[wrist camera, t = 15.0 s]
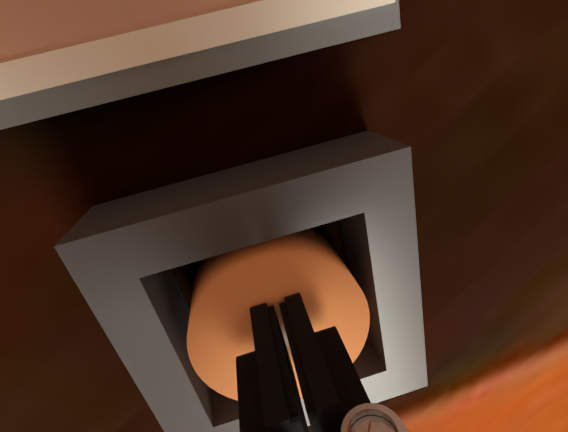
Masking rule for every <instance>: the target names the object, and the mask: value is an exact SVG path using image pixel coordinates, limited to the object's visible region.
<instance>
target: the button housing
mask: <svg viewBox="0 0 568 432" xmlns="http://www.w3.org/2000/svg"><path fill="white" fill-rule="evenodd" d="M337 220H340V223H341V229H342V234H343V240H344V246H345V251H346V257H347V263H348V268H349V271H350V273H351V274H352V276H353V277H354V279H355V280H356V282H357V283H358V285H359V287H360V288H361V290H362V291H363V293H364V295H365V297H366V300H367V303H368V307H369V313H370V325H369V332H368V336H367V339H366V342H365V344H364V347H363V349H362V350H361V352H360V354H359V356H358V357H357V359H356V360H355V361H354V363H353V365H354V367H355V369H356V371H357V374H358V376H359V378H360V380H361V382H362V385H363V387H364V389H365V391H366V393H367V396H368V398H369V400H370V402H371V403H378V402H381V401H384V400H387V399H390V398H393V397H396V396H399V395H402V394H405V393H408V392H411V391H414V390H417V389H420V388H423V387H426V386H428V383H427V369H426V355H425V341H424V327H423V313H422V299H421V284H420V270H419V256H418V242H417V228H416V214H415V200H414V186H413V172H412V158H411V146H408V145H405V144H403V143H400V142H398V141H395V140H392V139H390V138H387V137H384V136H382V135H379V134H377V133H374V132H371V131H369V130H367V131H364V132H360V133H356V134H353V135H349V136H345V137H342V138H338V139H334V140H331V141H327V142H323V143H320V144H316V145H313V146H309V147H305V148H302V149H298V150H294V151H291V152H287V153H283V154H280V155H276V156H272V157H269V158H265V159H261V160H258V161H254V162H250V163H247V164H243V165H240V166H236V167H232V168H229V169H225V170H221V171H218V172H214V173H210V174H207V175H203V176H199V177H196V178H192V179H188V180H185V181H181V182H178V183H174V184H170V185H167V186H163V187H159V188H156V189H152V190H148V191H145V192H141V193H137V194H134V195H130V196H126V197H123V198H119V199H115V200H112V201H108V202H105V203H101V204H97V205H94V206H92V207H91V208H90V209H89V210H88V211H87V212H86V213H85V214H84V215H83V216H82V217H81V218H80V219H79V221H78V222H77V223H76V224H75V225H74V226H73V227H72V228H71V229H70V230H69V231H68V232H67V233H66V234H65V235H64V236H63V237H62V238H61V239H60V241H59V242H58V243H57V244H56V245H55V246H54V248H55V249H56V251H57V253H58V254H59V256H60V258H61V259H62V261H63V263H64V264H65V266H66V268H67V269H68V271H69V273H70V274H71V276H72V278H73V279H74V281H75V283H76V284H77V286H78V288H79V289H80V291H81V293H82V295H83V296H84V298H85V300H86V301H87V303H88V305H89V306H90V308H91V310H92V311H93V313H94V315H95V316H96V318H97V320H98V321H99V323H100V325H101V326H102V328H103V330H104V331H105V333H106V335H107V336H108V338H109V340H110V341H111V343H112V345H113V346H114V348H115V350H116V351H117V353H118V355H119V356H120V358H121V360H122V361H123V363H124V365H125V366H126V368H127V370H128V371H129V373H130V375H131V376H132V378H133V380H134V382H135V383H136V385H137V387H138V388H139V390H140V392H141V393H142V395H143V397H144V398H145V400H146V402H147V403H148V405H149V407H150V408H151V410H152V412H153V413H154V415H155V417H156V418H157V420H158V422H159V423H160V425H161V427H162V428H163V430H164V432H240V428H239V411H238V401H237V400H234V399H231V398H228V397H226V396H224V395H222V394H219V393H218V392H216V391H215V390H213V389H212V388H210V387H209V386H208V385H207V384H206V383H204V382H203V381H202V379H201V378H200V377H199V376H198V375H197V373H196V372H195V370H194V368H193V366H192V364H191V362H190V359H189V356H188V350H187V331H188V322H189V314H190V308H189V306H188V304H187V301H186V299H185V297H184V295H183V292H182V290H181V288H180V286H179V283H178V281H177V279H176V276H175V274H174V272H173V270H172V268H176V267H179V266H182V265H186V264H189V263H193V262H196V261H200V260H203V259H206V258H210V257H213V256H217V255H220V254H224V253H227V252H230V251H234V250H237V249H241V248H244V247H248V246H251V245H254V244H258V243H261V242H265V241H268V240H272V239H275V238H278V237H282V236H285V235H289V234H292V233H296V232H299V231H302V230H306V229H309V228H313V227H316V226H320V225H323V224H326V223H330V222H333V221H337ZM300 399H301V403H302V407H303V411H304V415H305V419H306V423H307V426H309V425H310V422H309V419H308V415H307V412H306V408H305V405H304V401H303V398H300Z"/></svg>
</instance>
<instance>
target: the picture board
mask: <svg viewBox="0 0 568 432" xmlns="http://www.w3.org/2000/svg"><path fill="white" fill-rule="evenodd" d="M400 28H401V26H400V12H399V0H0V130H2V129H6V128H10V127H14V126H18V125H22V124H25V123H29V122H33V121H37V120H41V119H45V118H49V117H53V116H57V115H61V114H65V113H69V112H73V111H77V110H81V109H85V108H89V107H92V106H96V105H100V104H104V103H108V102H112V101H116V100H120V99H124V98H128V97H132V96H136V95H140V94H144V93H148V92H152V91H156V90H160V89H163V88H167V87H171V86H175V85H179V84H183V83H187V82H191V81H195V80H199V79H203V78H207V77H211V76H215V75H219V74H223V73H227V72H230V71H234V70H238V69H242V68H246V67H250V66H254V65H258V64H262V63H266V62H270V61H274V60H278V59H282V58H286V57H290V56H294V55H297V54H301V53H305V52H309V51H313V50H317V49H321V48H325V47H329V46H333V45H337V44H341V43H345V42H349V41H353V40H357V39H361V38H364V37H368V36H372V35H376V34H380V33H384V32H388V31H392V30H396V29H400Z"/></svg>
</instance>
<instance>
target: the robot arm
mask: <svg viewBox="0 0 568 432" xmlns="http://www.w3.org/2000/svg"><path fill="white" fill-rule="evenodd" d="M284 300H285V302H282V303H279V307H280V311H281V315H282V319H283V323H284V327H285V330H286V334H287V338H288V342H289V346H290V350H291V354H292V358H293V362H294V366H295V370H296V373H297V377H298V381H299V385H300V389H301V393H302V397H303V401H304V405H305V408H306V412H307V415H308V419H309V422H310V425H311V429H312V432H409V431H408V429H407V428H406V426H405V425H404V424H403V422H402V421H401V419H400V418H399V417H398V416H397V415H396V414H395V413H394V412H393V411H392V410H391V409H389V408H387V407H386V406H384V405H380V404H376V403H371V402H370V400H369V398H368V396H367V393H366V391H365V389H364V387H363V385H362V382H361V380H360V378H359V376H358V374H357V371H356V369H355V367H354V365H353V363H352V361H351V358H350V356H349V354H348V352H347V350H346V347H345V345H344V343H343V341H342V339H341V337H340V334H339V332H338V330H337V328H336V327H335V326H333V327H330V328H327V329H323V330H320V331H317V332H314V330H313V327H312V324H311V322H310V319H309V316H308V314H307V311H306V308H305V305H304V303H303V300H302V297H301V294H300V292H299V293H296V294H293V295H289V296H286V297H284ZM250 316H251V324H252V332H253V340H254V348H255V351H253V352H250V353H246V354H243V355H240V356H237V357H236V375H237V393H238V411H239V428H240V432H309V431H308V427H307V423H306V419H305V415H304V411H303V407H302V403H301V399H300V395H299V391H298V387H297V383H296V379H295V375H294V371H293V367H292V364H291V360H290V357H289V354H288V351H287V347H286V344H285V341H284V337H283V334H282V331H281V328H280V324H279V321H278V318H277V315H276V311H275V308H274V305H272V306H269V307H267V304H266V303H263V304H260V305H256V306H253V307H250Z"/></svg>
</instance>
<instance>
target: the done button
mask: <svg viewBox="0 0 568 432" xmlns="http://www.w3.org/2000/svg"><path fill="white" fill-rule="evenodd" d="M299 292H300V294H301V297H302V300H303V303H304V305H305V308H306V311H307V314H308V316H309V319H310V322H311V324H312V327H313V330H314V332H317V331H320V330H323V329H327V328H330V327H333V326H335V327H336V328H337V330H338V332H339V334H340V337H341V339H342V341H343V343H344V345H345V347H346V350H347V352H348V354H349V356H350V358H351V361H352V363H354V361H355V360H356V359H357V357H358V356H359V354H360V352H361V350H362V349H363V347H364V344H365V342H366V339H367V336H368V332H369V325H370V313H369V307H368V303H367V300H366V297H365V295H364V293H363V291H362V290H361V288H360V287H359V285H358V283H357V282H356V280H355V279H354V277H353V276H352V274H351V273H350V271H349V270H348V268H347V267H346V265H345V264H344V262H343V261H342V259H341V258H340V256H339V255H338V253H337V252H336V250H335V249H334V247H333V246H332V245H331V244H330V243H329V242H328V241H327V240H326V239H325V238H324V237H322V236H321V235H320V234H318V233H316V232H315V231H313V230H311V229H306V230H302V231H299V232H296V233H292V234H289V235H285V236H282V237H278V238H275V239H272V240H268V241H265V242H261V243H258V244H254V245H251V246H248V247H244V248H241V249H237V250H234V251H230V252H227V253H224V254H220V255H217V256H213V257H210V258H206V259H203V261H202V262H201V264H200V266H199V268H198V270H197V272H196V276H195V279H194V283H193V289H192V297H191V306H190V314H189V322H188V331H187V350H188V356H189V359H190V362H191V364H192V366H193V368H194V370H195V372H196V373H197V375H198V376H199V377H200V378H201V379H202V381H203V382H204V383H206V384H207V385H208V386H209V387H210V388H212V389H213V390H215V391H216V392H218V393H219V394H222V395H224V396H226V397H228V398H231V399H234V400H237V401H238V393H237V375H236V357H237V356H240V355H243V354H246V353H250V352H253V351H255V348H254V340H253V332H252V324H251V316H250V307H253V306H256V305H260V304H263V303H266V304H267V307H269V306H272V305H274V308H275V311H276V315H277V318H278V321H279V324H280V328H281V331H282V334H283V337H284V341H285V344H286V347H287V351H288V354H289V357H290V360H291V364H292V367H293V371H294V375H295V379H296V383H297V387H298V391H299V395H300V398H303V397H302V393H301V389H300V385H299V381H298V377H297V373H296V370H295V366H294V362H293V358H292V354H291V350H290V346H289V342H288V338H287V334H286V330H285V327H284V323H283V319H282V315H281V311H280V307H279V303H282V302H285V300H284V297H286V296H289V295H293V294H296V293H299Z"/></svg>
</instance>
